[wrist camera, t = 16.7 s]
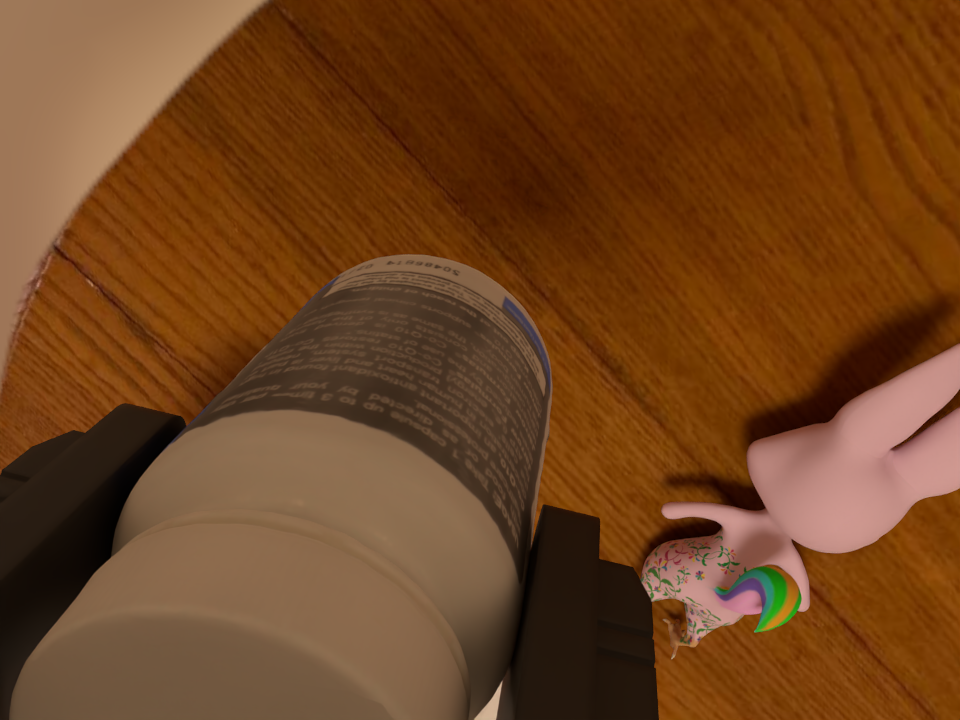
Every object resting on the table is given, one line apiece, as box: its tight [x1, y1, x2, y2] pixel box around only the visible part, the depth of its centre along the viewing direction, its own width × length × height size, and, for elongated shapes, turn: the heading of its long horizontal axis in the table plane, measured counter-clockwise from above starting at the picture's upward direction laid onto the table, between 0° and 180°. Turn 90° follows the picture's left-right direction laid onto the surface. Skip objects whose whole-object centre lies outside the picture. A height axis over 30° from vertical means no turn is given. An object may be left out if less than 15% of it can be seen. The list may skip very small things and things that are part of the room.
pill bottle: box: [9, 254, 553, 720], centre depth 11 cm, size 5×5×8 cm
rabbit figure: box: [640, 343, 960, 659], centre depth 25 cm, size 6×6×15 cm
